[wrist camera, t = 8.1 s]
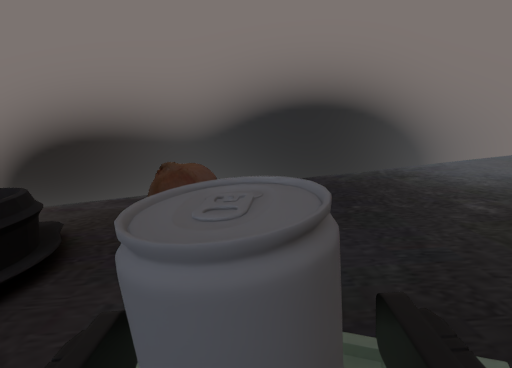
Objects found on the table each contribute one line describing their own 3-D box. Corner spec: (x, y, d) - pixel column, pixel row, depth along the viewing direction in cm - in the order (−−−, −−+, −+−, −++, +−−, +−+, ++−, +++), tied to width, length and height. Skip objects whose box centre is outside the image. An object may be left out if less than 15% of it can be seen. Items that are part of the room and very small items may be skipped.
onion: (166, 248, 40) (124, 189, 38) (214, 211, 45) (179, 158, 44) (194, 243, 32) (142, 168, 31) (247, 199, 38) (205, 135, 37)
